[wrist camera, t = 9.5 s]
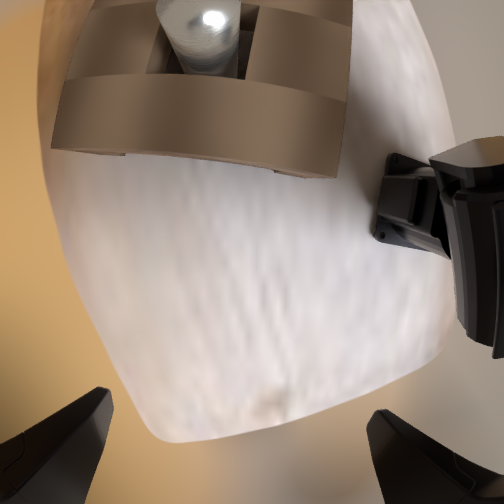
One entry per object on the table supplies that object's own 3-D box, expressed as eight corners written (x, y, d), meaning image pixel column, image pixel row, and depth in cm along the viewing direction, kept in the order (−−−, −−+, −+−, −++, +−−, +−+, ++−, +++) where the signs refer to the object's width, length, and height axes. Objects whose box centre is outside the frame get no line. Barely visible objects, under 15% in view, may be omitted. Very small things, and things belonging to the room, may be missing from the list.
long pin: (241, 58, 15) (247, -23, 7) (233, 99, 16) (232, 34, 8) (194, 54, 15) (168, -25, 6) (184, 94, 16) (146, 31, 7)
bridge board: (324, 27, 15) (352, -16, 9) (304, 178, 18) (336, 178, 12) (137, 10, 14) (112, -32, 8) (99, 154, 16) (50, 148, 11)
